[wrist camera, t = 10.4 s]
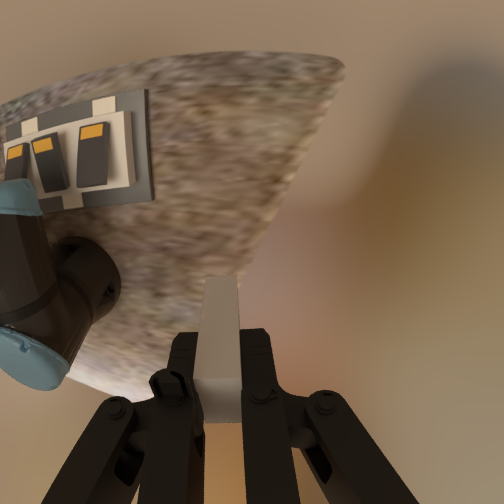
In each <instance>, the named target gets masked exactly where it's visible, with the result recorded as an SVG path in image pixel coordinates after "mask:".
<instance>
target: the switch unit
mask: <svg viewBox="0 0 504 504" xmlns="http://www.w3.org/2000/svg"><path fill="white" fill-rule="evenodd" d="M104 121H107V122H108V123H109V124H110V128H109V143H108V170H107V185H100V186H93V187H86V188H77V187H76V174H77V152H78V139H79V128H80V127H81V126H85V125H90V124H95V123H99V122H104ZM54 132H57V133H58V138H59V142H60V147H61V152H62V156H63V160H64V164H65V168H66V172H67V176H68V180H69V183H70V186H69V187H68V188H67V190H61V191H55V192H50V193H45V192H44V189H43V185H42V182H41V179H40V175H39V172H38V168H37V164H36V161H35V157H34V153H33V149H32V144H31V140H33V139H34V138H37V137H40V136H43V135H47V134H50V133H54ZM6 137H7V143H4V154H5V163H6V159H7V150H8V148H9V147H12V146H15V145H18V144H21V143H24V142H26V143H29V144H30V146H29V156H28V167H27V179H28V180H30V181H31V182H32V183H33V184H34V186H35V189H36V193H37V198H38V202H39V206H40V209H41V211H42V212H43V214H45V213H52V212H59V211H66V210H74V209H82V208H90V207H99V206H108V205H118V204H128V203H139V202H150V201H152V200H153V199H154V194H153V184H152V173H151V161H150V148H149V131H148V108H147V90H146V89H140V90H134V91H128V92H123V93H118V94H113V95H108V96H103V97H99V98H95V99H91V100H87V101H83V102H79V103H75V104H71V105H68V106H64V107H61V108H58V109H55V110H51V111H48V112H45V113H42V114H39V115H36V116H33V117H31V118H28V119H25V120H22V121H20V122H17V123H15V124H12V125H10V126H7V127H6Z"/></svg>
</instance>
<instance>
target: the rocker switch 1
mask: <svg viewBox="0 0 504 504" xmlns="http://www.w3.org/2000/svg"><path fill="white" fill-rule="evenodd" d="M29 146H30V144H29V143H26V142H24V143H21V144H18V145H15V146H12V147H9V148H8V150H7V159H6V170H5V181H8V180H13V179H20V178H24V179H27V167H28V156H29Z"/></svg>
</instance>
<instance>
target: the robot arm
mask: <svg viewBox="0 0 504 504" xmlns="http://www.w3.org/2000/svg"><path fill="white" fill-rule="evenodd" d="M42 215H43V212H42V211H41V209H40V206H39V202H38V198H37V193H36V189H35V186H34V184H33V183H32V182H31V181H30V180H28V179H24V178H20V179H13V180H8V181H2V182H0V368H1V369H2V370H3V371H5V372H6V373H7V374H8V375H10V376H11V377H12V378H14V379H15V380H17V381H18V382H20V383H22V384H24V385H26V386H28V387H30V388H34V389H37V390H42V391H50V390H54V389H56V388H57V387H58V386H59V385H60V384H61V382H62V381H63V379H64V377H65V375H66V374H67V373H68V372H69V371H70V367H71V365H72V363H73V361H74V359H75V357H76V355H77V353H78V351H79V348H80V346H81V344H82V342H83V340H84V338H85V336H86V334H87V333H88V331H89V329H90V327H91V325H92V324H94V323H95V322H97V321H98V320H99V319H101V318H102V317H104V316H105V315H107V314H108V313H109V312H110V311H111V310H112V308H113V307H114V305H115V303H116V301H117V299H118V297H119V294H120V277H119V274H118V271H117V268H116V266H115V264H114V262H113V261H112V259H111V258H110V256H109V255H108V254H107V253H106V252H105V251H104V250H103V249H102V248H101V247H100V246H98V245H97V244H96V243H94V242H92V241H90V240H88V239H85V238H82V237H67V238H64V239H62V240H60V241H58V242H57V243H56V244H55V245H54V246H53V247H51V248H49V244H48V241H47V237H46V232H45V228H44V223H43V218H42ZM149 384H150V387H151V389H152V392H153V394H154V397H153V398H151V399H148V400H145V401H140V402H135V403H131V402H130V400H128V399H127V398H125V397H121V396H115V397H110V398H108V399H107V400H104V402H103V403H102V404H101V405H100V406H99V408H98V409H97V411H96V413H95V414H94V416H93V417H92V419H91V420H90V422H89V424H88V425H87V427H86V428H85V430H84V431H83V433H82V435H81V436H80V438H79V440H78V441H77V443H76V444H75V446H74V448H73V450H72V451H71V453H70V454H69V456H68V458H67V460H66V461H65V463H64V465H63V466H62V468H61V469H60V471H59V473H58V475H57V477H56V478H55V480H54V482H53V483H52V485H51V487H50V489H49V490H48V492H47V494H46V496H45V497H44V499H43V501H42V503H41V504H131V502H132V500H133V498H134V495H135V493H136V491H137V489H138V486H139V484H140V487H139V494H138V502H137V504H204V461H205V432H204V429H203V424H204V420H205V423H239V422H242V432H243V450H244V468H245V484H246V500H247V504H301V503H300V497H299V491H298V485H297V479H296V474H295V468H294V462H293V456H292V450H291V447H294V448H300V450H301V452H302V454H303V456H304V458H305V460H306V462H307V464H308V465H309V467H310V469H311V471H312V473H313V474H314V477H315V478H316V480H317V482H318V484H319V486H320V488H321V489H322V491H323V493H324V495H325V497H326V498H327V500H328V502H329V504H419V503H418V501H417V500H416V499H415V497H414V496H413V494H412V493H411V492H410V490H409V489H408V488H407V486H406V485H405V483H404V482H403V481H402V479H401V478H400V476H399V475H398V474H397V472H396V471H395V469H394V468H393V467H392V465H391V464H390V462H389V461H388V460H387V458H386V457H385V456H384V454H383V453H382V451H381V450H380V449H379V447H378V446H377V445H376V443H375V442H374V440H373V439H372V438H371V436H370V435H369V433H368V432H367V430H366V429H365V428H364V426H363V425H362V423H361V422H360V421H359V419H358V418H357V416H356V415H355V414H354V412H353V411H352V409H351V408H350V406H349V405H348V404H347V402H346V401H345V399H344V398H343V397H342V396H341V395H340V394H339V393H336V392H334V391H330V390H321V391H317V392H315V393H313V394H311V395H310V396H309V397H302V396H296V395H292V394H289V393H287V392H285V391H284V390H283V389H282V388H281V387H280V386H279V384H278V382H277V377H276V371H275V365H274V359H273V354H272V347H271V342H270V336H269V335H268V333H267V332H266V331H265V330H264V329H263V328H258V329H242V330H240V319H239V304H238V289H237V275H232V276H212V277H206V282H205V289H204V296H203V303H202V310H201V317H200V325H199V332H179V334H178V335H177V336H176V337H175V338H174V340H173V342H172V347H171V351H170V356H169V360H168V365H167V368H166V369H162V370H159V371H157V372H156V373H155V374H153V375H152V376H151V378H150V380H149Z"/></svg>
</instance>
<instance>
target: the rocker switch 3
mask: <svg viewBox="0 0 504 504" xmlns="http://www.w3.org/2000/svg"><path fill="white" fill-rule="evenodd" d="M109 128H110V124H109V123H108V122H107V121H104V122H99V123H95V124H90V125H85V126H81V127H80V128H79V139H78V152H77V174H76V187H77V188H86V187H93V186H100V185H107V170H108V143H109Z"/></svg>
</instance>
